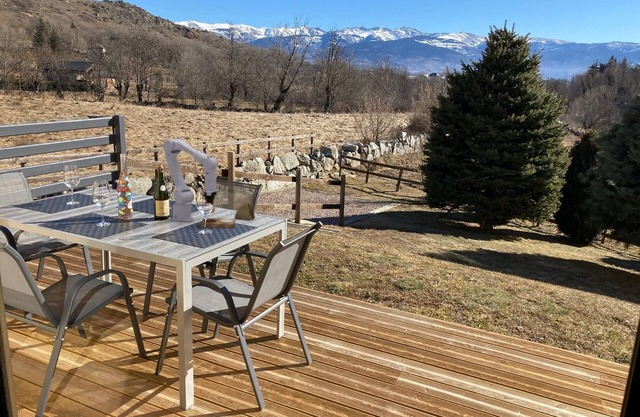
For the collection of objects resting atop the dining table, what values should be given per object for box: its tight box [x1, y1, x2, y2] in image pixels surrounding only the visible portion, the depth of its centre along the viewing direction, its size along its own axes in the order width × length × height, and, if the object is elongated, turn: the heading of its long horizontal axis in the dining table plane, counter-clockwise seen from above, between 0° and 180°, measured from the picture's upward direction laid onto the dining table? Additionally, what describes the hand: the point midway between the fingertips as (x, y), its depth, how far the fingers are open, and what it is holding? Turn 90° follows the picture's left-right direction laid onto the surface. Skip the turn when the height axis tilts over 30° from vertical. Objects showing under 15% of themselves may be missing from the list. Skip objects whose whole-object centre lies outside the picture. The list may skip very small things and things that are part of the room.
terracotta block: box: [206, 197, 216, 214], centre depth 249 cm, size 4×4×7 cm
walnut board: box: [199, 217, 236, 229], centre depth 251 cm, size 17×12×2 cm
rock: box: [234, 202, 256, 220], centre depth 267 cm, size 11×9×10 cm
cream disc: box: [220, 218, 234, 223], centre depth 251 cm, size 7×7×1 cm
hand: (210, 206), depth 249 cm, fingers closed on terracotta block, 4 cm apart
